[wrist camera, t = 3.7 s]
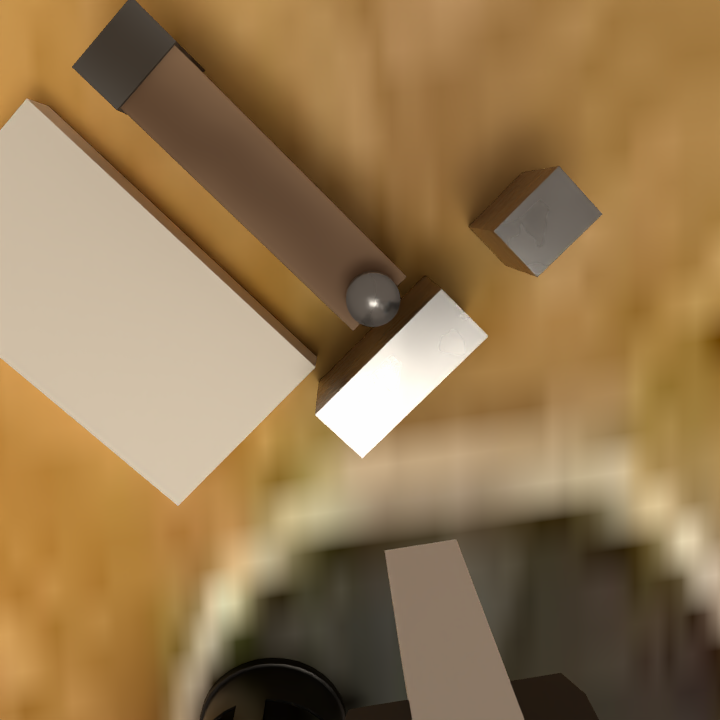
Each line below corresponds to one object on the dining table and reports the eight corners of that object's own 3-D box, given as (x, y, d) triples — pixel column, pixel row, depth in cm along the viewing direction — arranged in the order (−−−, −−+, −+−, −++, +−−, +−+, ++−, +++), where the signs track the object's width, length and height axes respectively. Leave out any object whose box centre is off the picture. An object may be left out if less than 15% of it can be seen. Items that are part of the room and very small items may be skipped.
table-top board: (48, 105, 34) (26, 98, 32) (316, 356, 37) (315, 367, 35) (-83, 260, 35) (-112, 264, 33) (187, 487, 39) (178, 505, 37)
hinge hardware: (483, 129, 35) (521, 109, 28) (564, 217, 36) (620, 221, 29) (276, 342, 37) (261, 376, 30) (358, 419, 38) (363, 469, 31)
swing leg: (169, 34, 33) (131, -4, 27) (397, 263, 36) (409, 275, 30) (119, 91, 34) (71, 66, 28) (348, 312, 37) (350, 333, 31)
